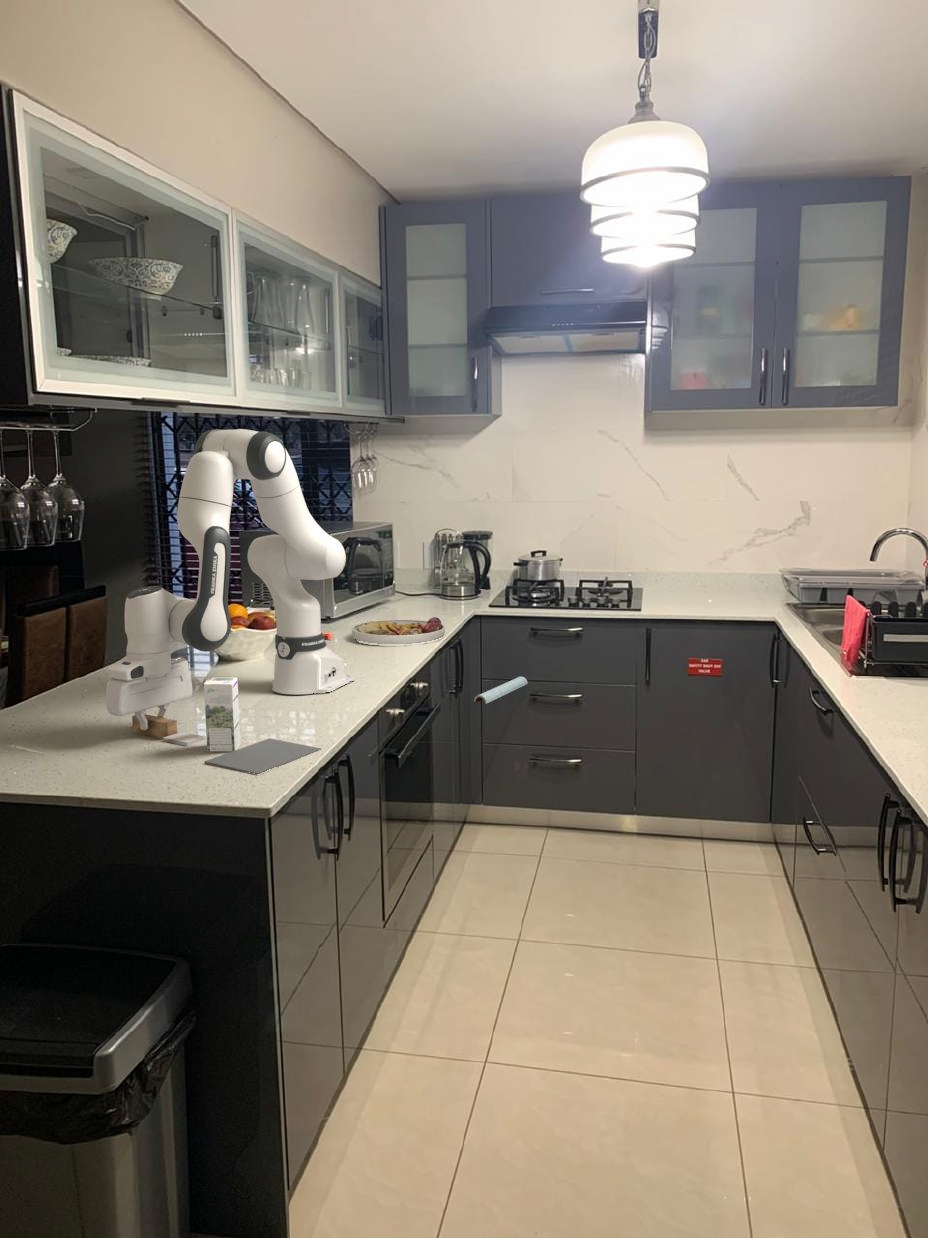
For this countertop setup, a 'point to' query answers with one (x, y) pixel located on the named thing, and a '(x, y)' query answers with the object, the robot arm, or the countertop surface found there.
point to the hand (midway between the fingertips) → (153, 727)
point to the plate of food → (399, 631)
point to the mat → (262, 756)
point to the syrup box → (222, 714)
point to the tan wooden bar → (166, 731)
